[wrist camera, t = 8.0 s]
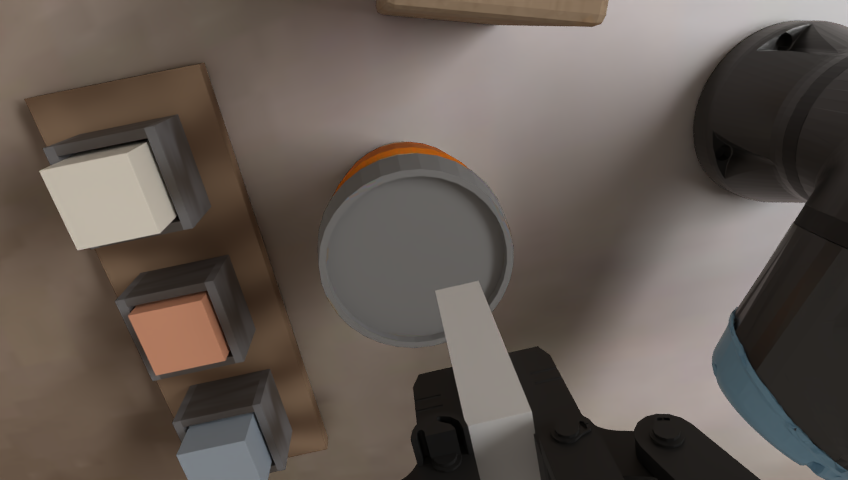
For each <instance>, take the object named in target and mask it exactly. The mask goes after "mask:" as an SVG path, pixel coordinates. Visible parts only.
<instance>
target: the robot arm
mask: <svg viewBox="0 0 848 480" xmlns="http://www.w3.org/2000/svg"><path fill="white" fill-rule="evenodd" d="M694 144H695V150H696V153H697V156H698V159H699V161H700V164H701V166H702V167H703V169H704V171H705V172H706V173H707V175H708V176H709V177H710V178H711V179H712V180H713V181H714V182H715V183H717V184H718V185H719V186H721V187H722V188H724V189H726V190H728V191H731V192H733V193H735V194H737V195H739V196H742V197H744V198H747V199H751V200H755V201H761V202H795V203H805V206H804V207H803V209H802V210H801V212H800V213H799V215H798V217H797V218H796V220H795V221H794V222H793V223H792V225H791V226H790V228H789V230H788V231H787V233H786V234H785V236H784V238H783V239H782V241H781V242H780V244H779V245H778V247H777V249H776V250H775V252H774V253H773V255H772V256H771V258H770V260H769V261H768V263H767V264H766V266H765V267H764V269H763V271H762V272H761V274H760V275H759V277H758V278H757V280H756V281H755V283H754V284H753V286H752V287H751V289H750V290H749V292H748V293H747V295H746V296H745V298H744V299H743V301H742V302H741V304H740V305H739V307H737V308H736V309H735V310H734V311H733V312H732V313H731V315H730V318H729V323H728V326H727V328H726V330H725V331H724V333H723V335H722V337H721V339H720V340H719V342H718V344H717V345H716V347H715V350H714V352H713V356H712V367H713V371H714V375H715V377H716V379H717V383H718V385H719V387H720V389H721V390H722V392H723V394H724V395H725V397H726V398H727V399H728V401H729V402H730V403H731V405H732V406H733V407H734V408H735V410H736V411H737V412H738V413H739V414H740V415H741V416H742V417H743V419H744V420H745V421H746V422H747V423H748V424H749V425H750V426H751V427H752V428H753V429H755V430H756V431H757V432H758V433H759V434H760V435H761V436H762V437H763V438H764V439H766V440H767V441H768V442H769V443H770V444H771V445H773V446H774V447H775V448H776V449H778V450H779V451H780V452H782V453H783V454H784V455H786V456H787V457H788V458H790V459H791V460H793V461H794V462H796V463H798V464H799V465H807V466H808V467H809V468H810V469H811V470H812V471H813V472H814V473H815V474H816V475H817V476H819V477H821V478H823V479H825V480H848V27H846V26H843V25H840V24H837V23H832V22H827V21H788V22H782V23H778V24H775V25H772V26H769V27H767V28H764V29H762V30H760V31H758V32H756V33H754V34H753V35H751V36H749V37H748V38H746V39H745V40H743V41H742V42H741V43H739V44H738V45H737V46H736V47H735V48H734V49H732V50H731V51H730V52H729V53H728V54H727V55H726V56H725V58H724V59H723V60H722V61H721V62H720V63H719V65H718V66H717V67H716V69H715V70H714V71H713V73H712V75H711V76H710V78H709V80H708V81H707V83H706V85H705V87H704V89H703V91H702V94H701V96H700V99H699V102H698V105H697V109H696V113H695V119H694ZM435 292H436V297H437V301H438V306H439V310H440V315H441V319H442V323H443V328H444V332H445V337H446V341H447V346H448V350H449V354H450V359H451V363H452V367H450V368H446V369H441V370H437V371H432V372H428V373H424V374H419V375H418V378H417V380H416V382H415V384H414V387H413V391H414V400H415V410H416V420H417V425H416V426H415V428H414V429H413V431H412V435H411V442H412V446H413V449H414V453H415V457H416V460H417V465H416V466H415V468H414V469H413V471H412V472H411V473H410V474H409V475H408V476H406V477H405V478H403V479H402V480H760V479H759V478H758V477H756V476H755V475H754V474H753V473H752V472H750V471H749V470H748V469H747V468H745V467H744V466H743V465H742V464H740V463H739V462H738V461H737V460H736V459H734V458H733V457H732V456H731V455H729V454H728V453H727V452H726V451H724V450H723V449H722V448H721V447H719V446H718V445H717V444H716V443H715V442H713V441H712V440H711V439H710V438H708V437H707V436H706V435H705V434H703V433H702V432H701V431H700V430H699V429H697V428H696V427H695V426H694V425H692V424H691V423H689V422H688V421H686V420H684V419H683V418H681V417H677V416H673V415H670V414H654V415H650V416H647V417H645V418H643V419H642V420H640V421H639V422H638V423H637V425H636V427H635V429H634V431H615V430H607V429H604V428H600V427H597V426H595V425H594V424H593V423H592V422H591V421H590V420H589V419H588V418H586V417H584V416H583V415H582V414H581V412H580V410H579V409H578V407H577V405H576V403H575V401H574V399H573V397H572V395H571V394H570V392H569V390H568V388H567V386H566V384H565V382H564V380H563V379H562V377H561V375H560V373H559V371H558V369H557V368H556V365H555V364H554V362H553V360H552V358H551V356H550V355H549V354H548V353H546V352H545V351H543V350H542V349H541V348H539V347H538V346H537V347H533V348H529V349H524V350H520V351H515V352H511V353H508V352H507V349H506V347H505V345H504V342H503V340H502V337H501V335H500V332H499V330H498V327H497V325H496V322H495V320H494V317H493V315H492V313H491V310H490V308H489V305H488V303H487V300H486V298H485V295H484V293H483V290H482V288H481V286H480V283H479V281H475V282H471V283H466V284H462V285H458V286H453V287H449V288H444V289H440V290H436V291H435Z"/></svg>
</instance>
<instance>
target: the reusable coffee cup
mask: <svg viewBox="0 0 848 480" xmlns="http://www.w3.org/2000/svg"><path fill="white" fill-rule="evenodd" d="M318 262H319V271H320V277H321V283H322V286H323V288H324V291H325V294H326V296H327V299H328V301H329V302H330V304H331V305H332V307H333V308H334V310H335V311H336V313H337V314H338V315H339V316H340V317H341V318H342V319H343V320H344V321H345V322H346V323H347V324H348V325H349V326H350V327H352V328H353V329H355V330H356V331H358V332H359V333H361V334H362V335H363V336H366V337H368V338H370V339H373V340H375V341H377V342H380V343H383V344H388V345H392V346H396V347H410V348H418V347H427V346H434V345H438V344H441V343H445V342H447V341H446V337H445V332H444V328H443V323H442V319H441V315H440V310H439V306H438V301H437V297H436V292H435V291H436V290H440V289H444V288H449V287H453V286H458V285H462V284H466V283H471V282H475V281H479V283H480V286H481V288H482V290H483V293H484V295H485V298H486V300H487V303H488V305H489V308H490V310H491V312H492V311H493V310H494V309H495V307H496V306H497V304H498V303H499V301H500V300H501V299H502V297H503V295H504V293H505V291H506V288H507V286H508V284H509V281H510V277H511V273H512V268H513V242H512V237H511V233H510V229H509V226H508V223H507V221H506V218H505V215H504V213H503V210H502V208H501V206H500V204H499V202H498V199H497V197H496V196H495V194H494V193H493V192H492V190H491V189H490V188H489V186H488V185H487V184H486V183H485V182H484V181H483V180H482V179H481V178H480V177H479V176H477V175H476V174H475V173H474V172H473V171H472V170H470V169H468V168H467V167H466V166H465V165H464V164H463V163H462V162H460V161H458V160H456V159H455V158H453V157H451V156H450V155H448V154H446V153H445V152H443V151H441V150H439V149H437V148H435V147H432V146H429V145H426V144H423V143H414V142H395V143H390V144H387V145H383V146H381V147H379V148H377V149H375V150H373V151H371V152H369V153H368V154H366V155H365V156H364V157H362V158H361V159H360V160H359V161H357V162H356V163H355V164H354V166H353V167H352V168H351V169H350V170H349V172H348V173H347V174H346V176H345V177H344V178H343V180H342V181H341V182H340V184H339V185H338V187H337V189H336V191H335V193H334V195H333V196H332V198H331V200H330V202H329V204H328V206H327V208H326V210H325V211H324V214H323V217H322V221H321V224H320V228H319V235H318Z"/></svg>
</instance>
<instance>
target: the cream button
mask: <svg viewBox="0 0 848 480" xmlns="http://www.w3.org/2000/svg"><path fill="white" fill-rule="evenodd" d="M39 172H40V174H41V176H42V178H43V180H44V182H45V184H46V186H47V188H48V190H49V192H50V195H51V197H52V199H53V201H54V203H55V205H56V207H57V209H58V211H59V213H60V215H61V217H62V219H63V221H64V224H65V226H66V228H67V230H68V232H69V234H70V236H71V238H72V240H73V242H74V244H75V246H76V248H77V250H82V249H87V248H92V247H96V246H101V245H106V244H111V243H116V242H121V241H125V240H130V239H135V238H140V237H145V236H150V235H154V234H159V233H161V232H162V231H163V230H164V229H165V228H166V227H167V226H168V225H169V224H170V223H171V222H172V221H173V220H174V219H175V218H176V217H177V216H178V214H177V212H176V209H175V207H174V204H173V201H172V199H171V196H170V194H169V191H168V189H167V186H166V183H165V181H164V178H163V176H162V173H161V171H160V168H159V166H158V163H157V160H156V158H155V155H154V153H153V150H152V148H151V145H150V142H149V140H148V139H145V140H140V141H135V142H130V143H126V144H121V145H116V146H111V147H106V148H101V149H96V150H91V151H86V152H81V153H78V154H75V155H73V156H71V157H69V158H66V159H64V160H62V161H60V162H58V163H55V164H53V165H51V166H49V167H47V168H44V169H42V170H40V171H39Z"/></svg>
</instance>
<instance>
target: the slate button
mask: <svg viewBox="0 0 848 480" xmlns="http://www.w3.org/2000/svg"><path fill="white" fill-rule="evenodd" d="M176 456H177V458H178V460H179V462H180V464H181V466H182V468H183V470H184V472H185V474H186V476H187V479H188V480H268V476H269V472H270V467H271V463H272V455H271V453H270V450H269V447H268V445H267V442H266V440H265V437H264V435H263V432H262V429H261V427H260V424H259V422H258V419H257V417H256V414H255V412H252V413H247V414H242V415H238V416H233V417H228V418H224V419H219V420H215V421H210V422H205V423H201V424H196V425H191V426H189V428H188V430H187V432H186V435H185V437H184V439H183V441H182V444H181V446H180V448H179V451H178V453H177V455H176Z"/></svg>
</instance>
